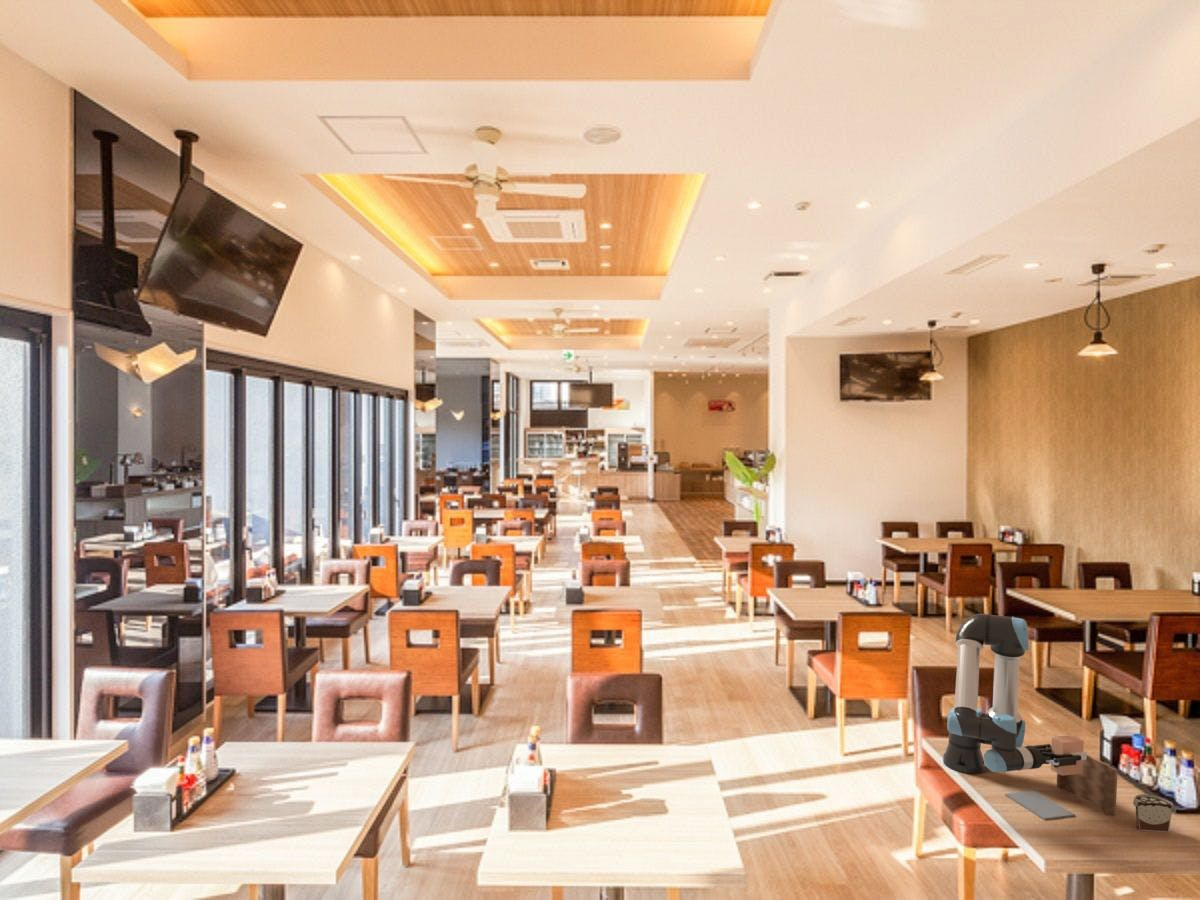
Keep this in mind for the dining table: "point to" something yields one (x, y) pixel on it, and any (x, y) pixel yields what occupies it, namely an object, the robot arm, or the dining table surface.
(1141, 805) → the food container
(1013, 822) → the dining table surface
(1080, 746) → the carton
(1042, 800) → the slate mat
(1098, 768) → the brown wooden board
